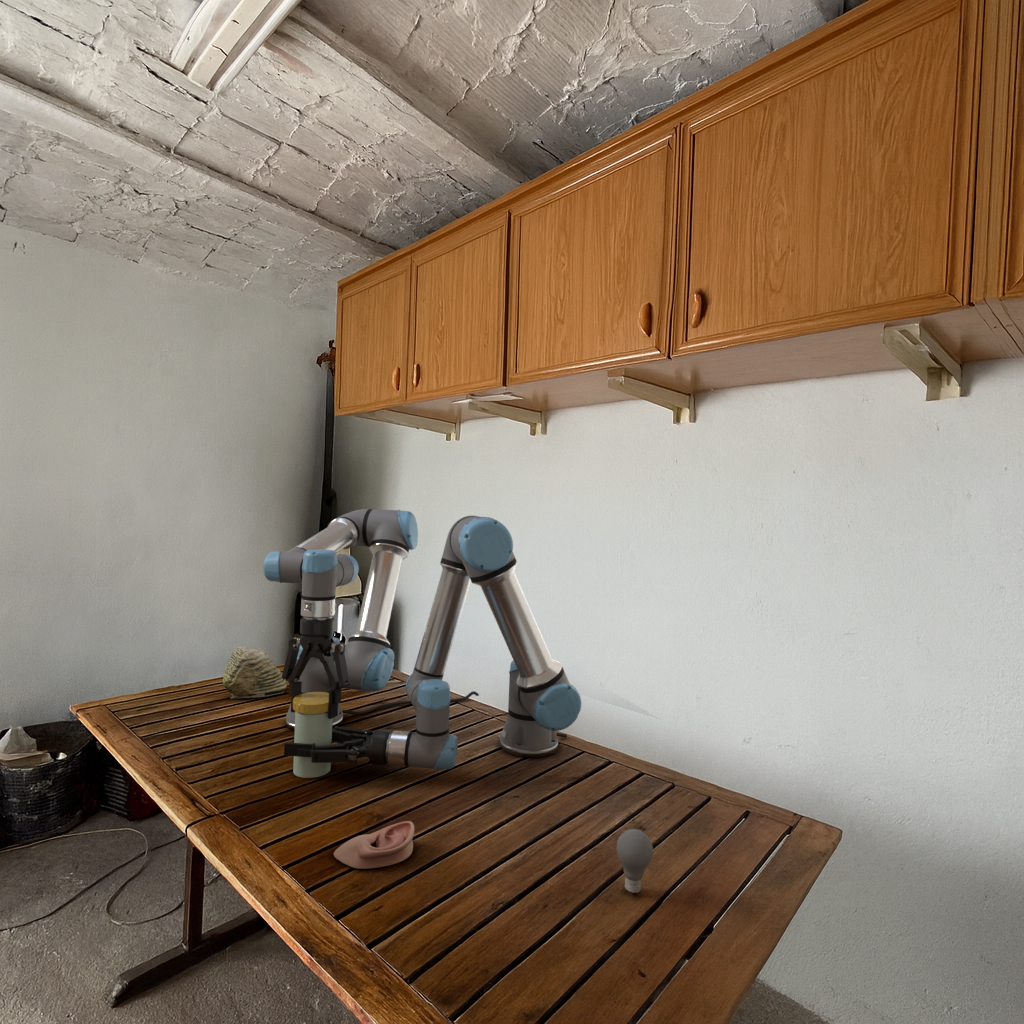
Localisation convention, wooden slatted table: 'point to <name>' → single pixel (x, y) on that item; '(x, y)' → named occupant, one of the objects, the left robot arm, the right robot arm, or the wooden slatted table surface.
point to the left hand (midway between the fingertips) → (314, 713)
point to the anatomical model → (378, 847)
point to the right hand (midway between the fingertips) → (293, 741)
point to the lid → (311, 702)
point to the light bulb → (634, 857)
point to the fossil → (252, 674)
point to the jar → (310, 732)
